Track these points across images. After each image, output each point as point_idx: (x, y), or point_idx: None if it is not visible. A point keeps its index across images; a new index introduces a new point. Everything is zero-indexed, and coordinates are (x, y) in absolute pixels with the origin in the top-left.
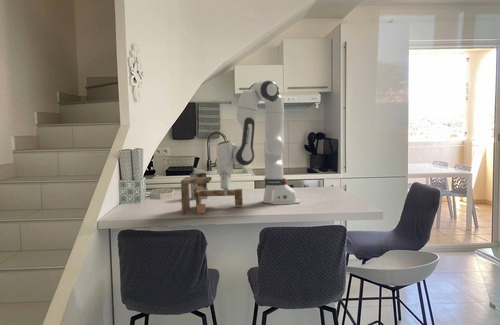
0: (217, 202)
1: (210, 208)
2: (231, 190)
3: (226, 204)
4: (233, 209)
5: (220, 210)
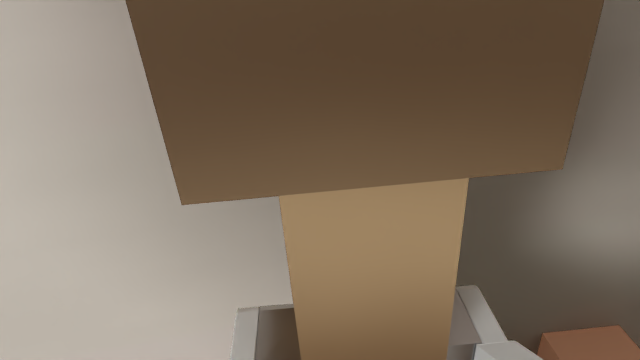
0: (26, 331)
1: None
2: (456, 275)
3: (133, 206)
4: None
5: (544, 204)
